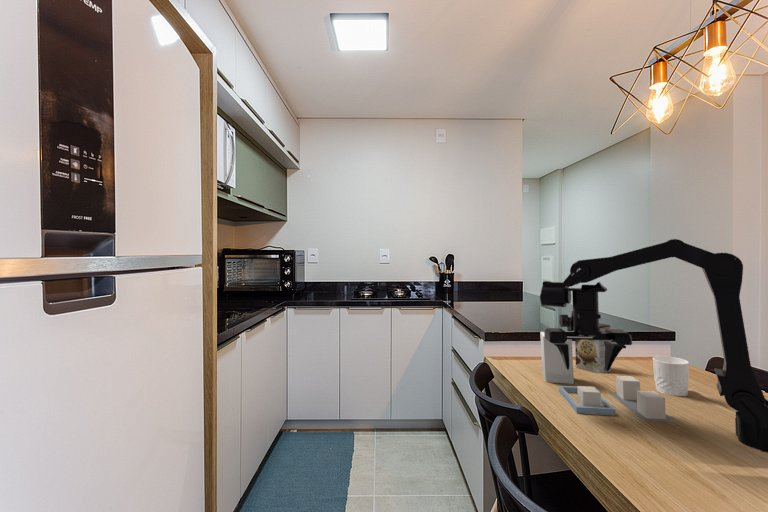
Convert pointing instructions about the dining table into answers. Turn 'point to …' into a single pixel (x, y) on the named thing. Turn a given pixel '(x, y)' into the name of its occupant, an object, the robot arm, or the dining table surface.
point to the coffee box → (591, 353)
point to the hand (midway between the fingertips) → (586, 369)
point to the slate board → (633, 408)
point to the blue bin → (604, 410)
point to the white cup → (671, 375)
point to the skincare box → (555, 362)
